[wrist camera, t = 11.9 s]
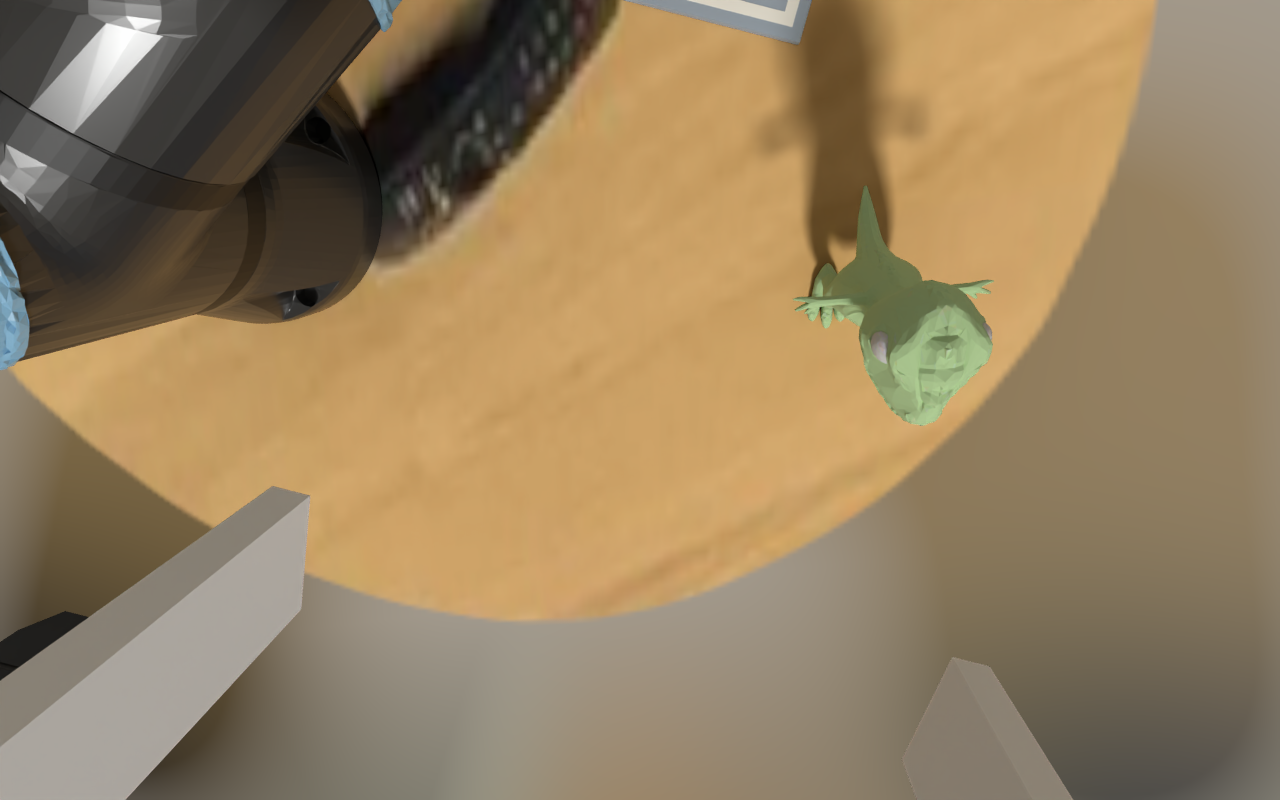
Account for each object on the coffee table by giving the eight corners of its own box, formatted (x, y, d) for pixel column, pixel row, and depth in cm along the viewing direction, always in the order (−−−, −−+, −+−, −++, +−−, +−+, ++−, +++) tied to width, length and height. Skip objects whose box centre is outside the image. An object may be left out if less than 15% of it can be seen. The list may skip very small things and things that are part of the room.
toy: (848, 363, 40) (941, 462, 26) (761, 275, 39) (809, 329, 24) (940, 281, 38) (1095, 339, 24) (852, 186, 37) (962, 187, 22)
